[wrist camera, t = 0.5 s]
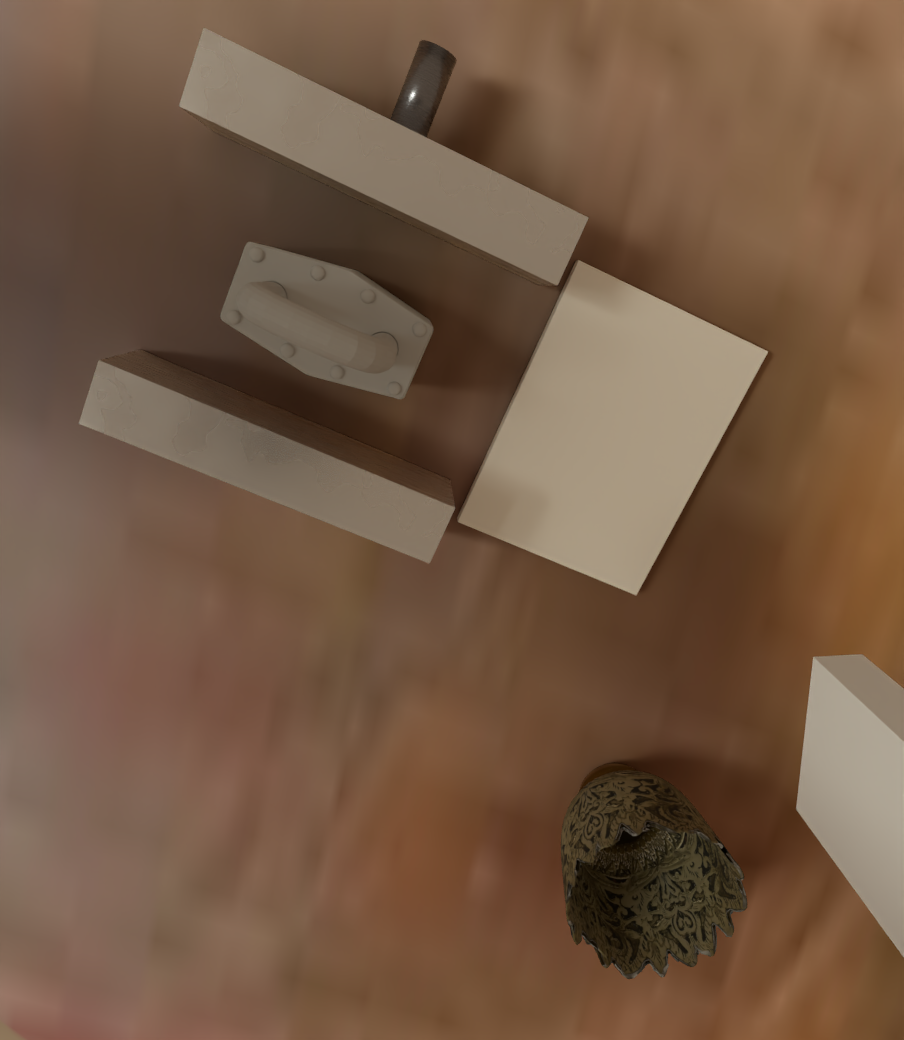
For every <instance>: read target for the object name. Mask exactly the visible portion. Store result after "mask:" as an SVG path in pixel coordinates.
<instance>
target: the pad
mask: <svg viewBox="0 0 904 1040" xmlns="http://www.w3.org/2000/svg"><path fill="white" fill-rule="evenodd" d="M767 353H768V351H766V350H764V349H762V348H760V347H758V346H756V345H754V344H752V343H749V342H747V341H745V340H743V339H741V338H739V337H737V336H735V335H733V334H731V333H729V332H727V331H725V330H723V329H720V328H718V327H716V326H714V325H712V324H710V323H708V322H706V321H704V320H702V319H700V318H698V317H696V316H694V315H691V314H689V313H687V312H685V311H683V310H681V309H679V308H677V307H675V306H673V305H671V304H669V303H667V302H665V301H662V300H660V299H658V298H656V297H654V296H652V295H650V294H648V293H646V292H644V291H642V290H640V289H638V288H636V287H633V286H631V285H629V284H627V283H625V282H623V281H621V280H619V279H617V278H615V277H613V276H611V275H609V274H607V273H604V272H602V271H600V270H598V269H596V268H594V267H592V266H590V265H588V264H586V263H584V262H582V261H580V260H576V261H575V264H574V266H573V268H572V270H571V272H570V274H569V277H568V279H567V281H566V283H565V285H564V287H563V290H562V292H561V294H560V296H559V298H558V300H557V303H556V305H555V307H554V309H553V311H552V313H551V316H550V318H549V320H548V322H547V324H546V326H545V328H544V331H543V333H542V335H541V337H540V339H539V341H538V344H537V346H536V348H535V350H534V352H533V354H532V357H531V359H530V361H529V363H528V365H527V367H526V370H525V372H524V374H523V376H522V378H521V380H520V383H519V385H518V387H517V389H516V391H515V393H514V396H513V398H512V400H511V402H510V404H509V406H508V409H507V411H506V413H505V415H504V417H503V419H502V422H501V424H500V426H499V428H498V430H497V432H496V435H495V437H494V439H493V441H492V443H491V445H490V448H489V450H488V452H487V454H486V456H485V458H484V461H483V463H482V465H481V467H480V469H479V471H478V473H477V476H476V478H475V480H474V482H473V484H472V486H471V489H470V491H469V493H468V495H467V497H466V499H465V502H464V504H463V506H462V508H461V510H460V512H459V515H458V517H457V521H458V522H459V523H461V524H464V525H466V526H469V527H471V528H474V529H476V530H478V531H481V532H483V533H486V534H488V535H491V536H493V537H495V538H498V539H500V540H503V541H505V542H508V543H510V544H513V545H515V546H517V547H520V548H522V549H525V550H527V551H530V552H532V553H534V554H537V555H539V556H542V557H544V558H547V559H549V560H551V561H554V562H556V563H559V564H561V565H564V566H566V567H568V568H571V569H573V570H576V571H578V572H581V573H583V574H585V575H588V576H590V577H593V578H595V579H598V580H600V581H602V582H605V583H607V584H610V585H612V586H615V587H617V588H619V589H622V590H624V591H627V592H629V593H632V594H634V595H637V593H638V591H639V590H640V588H641V586H642V584H643V582H644V580H645V578H646V577H647V575H648V573H649V571H650V569H651V567H652V566H653V564H654V562H655V560H656V558H657V556H658V554H659V553H660V551H661V549H662V547H663V545H664V543H665V542H666V540H667V538H668V536H669V534H670V532H671V530H672V529H673V527H674V525H675V523H676V521H677V519H678V518H679V516H680V514H681V512H682V510H683V508H684V506H685V505H686V503H687V501H688V499H689V497H690V495H691V494H692V492H693V490H694V488H695V486H696V484H697V482H698V481H699V479H700V477H701V475H702V473H703V471H704V470H705V468H706V466H707V464H708V462H709V460H710V458H711V457H712V455H713V453H714V451H715V449H716V447H717V446H718V444H719V442H720V440H721V438H722V436H723V434H724V433H725V431H726V429H727V427H728V425H729V423H730V422H731V420H732V418H733V416H734V414H735V412H736V410H737V409H738V407H739V405H740V403H741V401H742V399H743V398H744V396H745V394H746V392H747V390H748V388H749V386H750V385H751V383H752V381H753V379H754V377H755V375H756V374H757V372H758V370H759V368H760V366H761V364H762V362H763V361H764V359H765V357H766V355H767Z"/></svg>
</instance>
